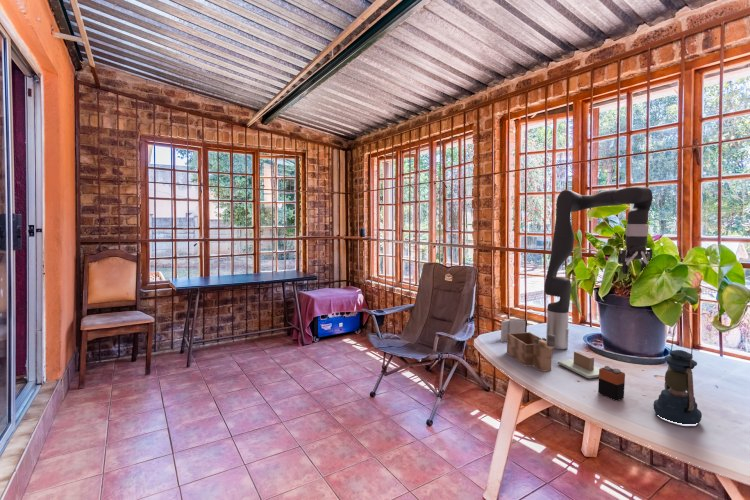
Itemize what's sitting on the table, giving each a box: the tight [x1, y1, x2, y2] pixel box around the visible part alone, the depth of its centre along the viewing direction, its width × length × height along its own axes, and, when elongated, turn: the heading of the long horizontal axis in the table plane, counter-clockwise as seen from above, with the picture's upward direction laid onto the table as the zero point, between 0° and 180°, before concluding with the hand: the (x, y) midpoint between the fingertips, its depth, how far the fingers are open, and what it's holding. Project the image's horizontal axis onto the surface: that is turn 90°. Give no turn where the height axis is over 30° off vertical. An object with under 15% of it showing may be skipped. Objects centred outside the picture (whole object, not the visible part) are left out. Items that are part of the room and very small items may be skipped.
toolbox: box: [506, 331, 553, 372], centre depth 169 cm, size 22×11×12 cm, turn 9°
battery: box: [597, 365, 626, 401], centre depth 136 cm, size 4×7×10 cm, turn 26°
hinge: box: [500, 318, 528, 343], centre depth 198 cm, size 14×5×10 cm, turn 98°
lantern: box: [653, 307, 703, 424], centre depth 120 cm, size 14×12×35 cm
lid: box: [557, 350, 601, 379], centre depth 159 cm, size 16×11×7 cm
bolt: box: [538, 334, 555, 350], centre depth 158 cm, size 8×3×5 cm, turn 9°
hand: (634, 273), depth 166 cm, fingers open, 8 cm apart
